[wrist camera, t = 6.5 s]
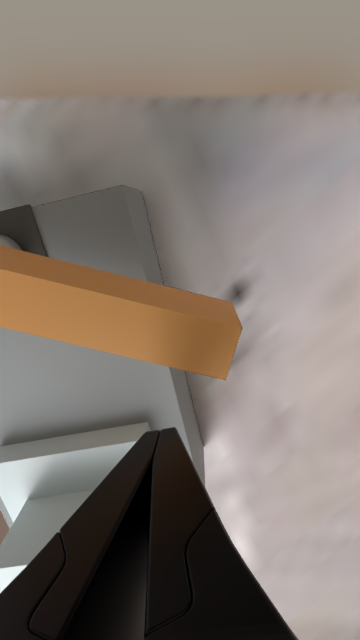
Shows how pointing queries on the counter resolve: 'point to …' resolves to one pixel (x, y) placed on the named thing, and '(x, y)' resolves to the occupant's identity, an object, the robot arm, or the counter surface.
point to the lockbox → (81, 362)
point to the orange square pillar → (115, 313)
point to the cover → (53, 486)
